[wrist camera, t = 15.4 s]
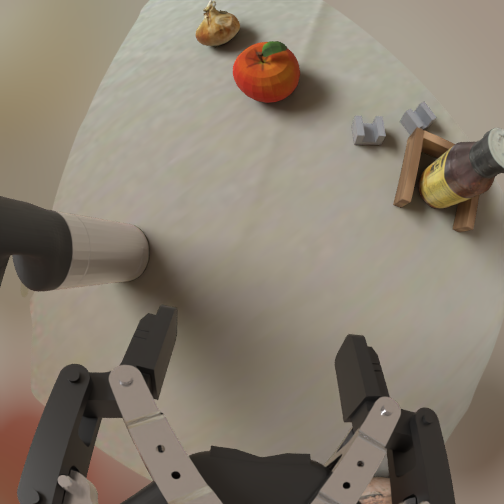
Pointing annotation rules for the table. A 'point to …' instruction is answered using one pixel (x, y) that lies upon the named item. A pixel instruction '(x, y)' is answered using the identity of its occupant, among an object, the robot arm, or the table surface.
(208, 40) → the onion
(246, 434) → the table surface
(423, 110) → the clip
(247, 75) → the fruit
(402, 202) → the frame
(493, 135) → the sauce bottle
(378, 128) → the clip
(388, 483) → the cooking pot
